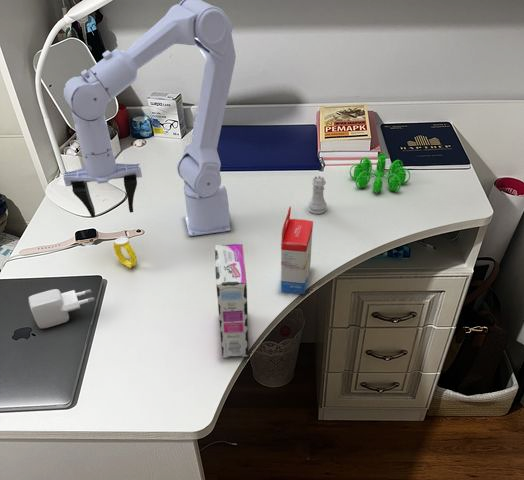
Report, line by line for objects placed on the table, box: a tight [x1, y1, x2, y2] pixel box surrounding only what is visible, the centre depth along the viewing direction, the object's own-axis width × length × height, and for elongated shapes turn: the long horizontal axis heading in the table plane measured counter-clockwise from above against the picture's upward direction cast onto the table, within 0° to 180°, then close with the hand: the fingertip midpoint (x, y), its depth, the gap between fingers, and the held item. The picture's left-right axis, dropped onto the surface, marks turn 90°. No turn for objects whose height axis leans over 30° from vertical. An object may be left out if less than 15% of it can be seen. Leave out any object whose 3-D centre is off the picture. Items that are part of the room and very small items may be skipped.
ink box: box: [280, 205, 314, 295], centre depth 103 cm, size 8×5×15 cm, turn 168°
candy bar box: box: [214, 243, 250, 359], centre depth 92 cm, size 11×5×16 cm, turn 5°
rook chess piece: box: [307, 175, 327, 215], centre depth 125 cm, size 4×4×8 cm
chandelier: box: [349, 153, 411, 194], centre depth 134 cm, size 15×15×7 cm
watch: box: [113, 236, 138, 269], centre depth 111 cm, size 6×3×6 cm, turn 47°
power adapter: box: [28, 288, 95, 329], centre depth 100 cm, size 11×5×6 cm, turn 115°
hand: (112, 212), depth 110 cm, fingers open, 7 cm apart
